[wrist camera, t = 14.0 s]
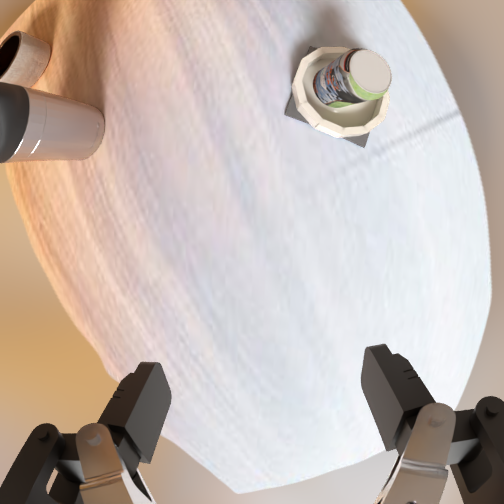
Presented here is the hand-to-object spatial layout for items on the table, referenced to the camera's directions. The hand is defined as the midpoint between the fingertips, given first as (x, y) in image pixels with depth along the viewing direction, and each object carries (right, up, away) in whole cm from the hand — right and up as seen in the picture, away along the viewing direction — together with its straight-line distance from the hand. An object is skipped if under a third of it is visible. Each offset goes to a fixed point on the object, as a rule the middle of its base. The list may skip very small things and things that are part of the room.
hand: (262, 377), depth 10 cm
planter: (-44, +42, +21) cm, 64 cm away
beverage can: (+11, +26, +22) cm, 36 cm away
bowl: (+12, +27, +23) cm, 37 cm away
